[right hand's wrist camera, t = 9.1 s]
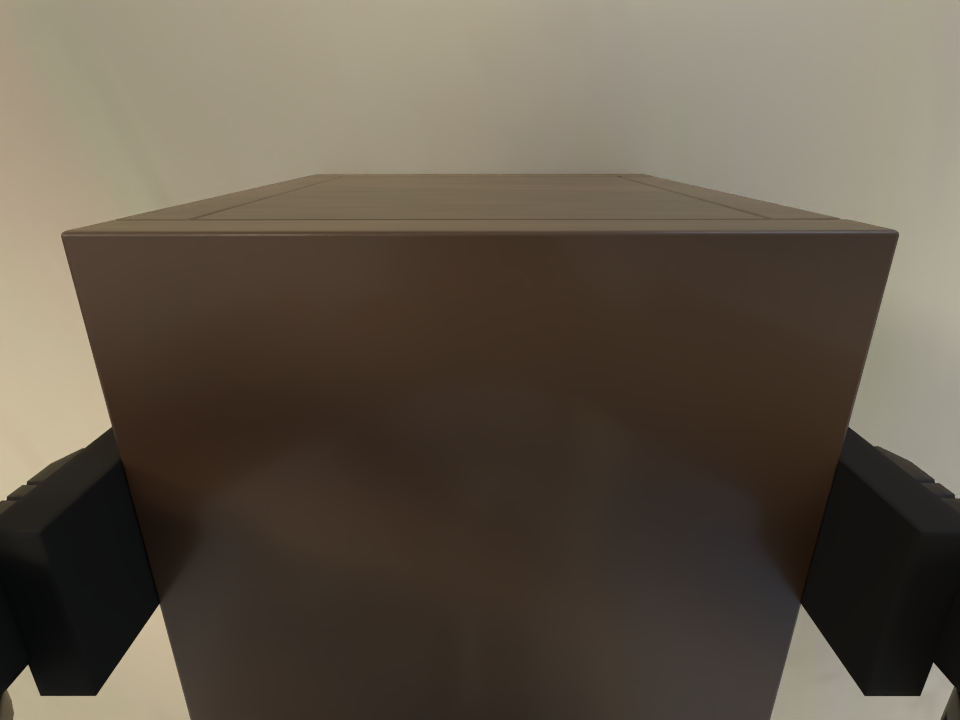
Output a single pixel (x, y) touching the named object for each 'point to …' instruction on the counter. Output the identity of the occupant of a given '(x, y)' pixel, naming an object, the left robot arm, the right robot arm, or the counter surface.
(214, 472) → the cabinet
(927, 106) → the counter surface
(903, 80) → the counter surface
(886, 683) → the right robot arm
